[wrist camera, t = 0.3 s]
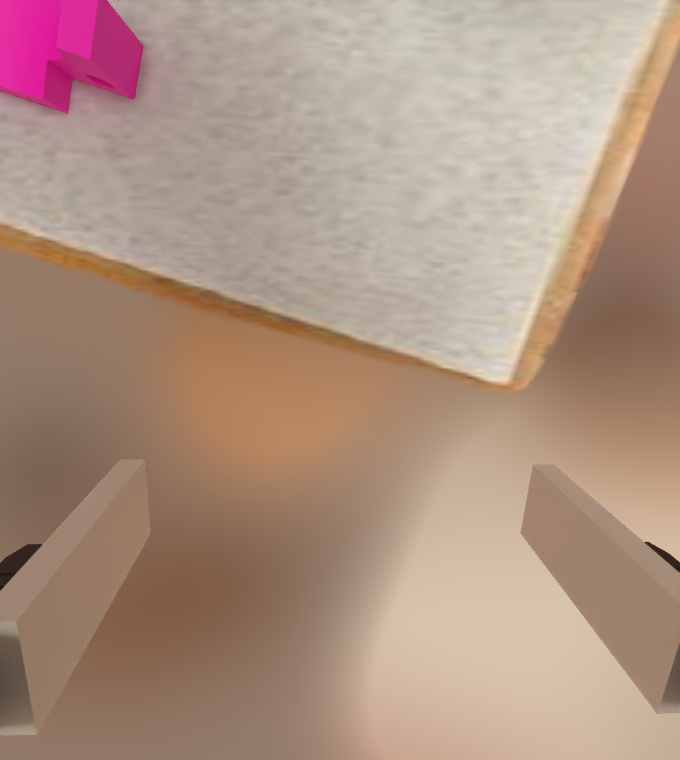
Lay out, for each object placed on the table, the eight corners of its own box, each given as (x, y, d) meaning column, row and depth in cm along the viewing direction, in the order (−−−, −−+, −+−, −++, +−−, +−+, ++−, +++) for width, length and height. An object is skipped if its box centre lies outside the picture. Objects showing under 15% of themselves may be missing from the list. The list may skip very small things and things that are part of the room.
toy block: (-75, 67, 33) (-180, 14, 26) (-69, -29, 32) (-179, -112, 25) (129, 133, 35) (84, 102, 28) (143, 47, 34) (99, -10, 27)
